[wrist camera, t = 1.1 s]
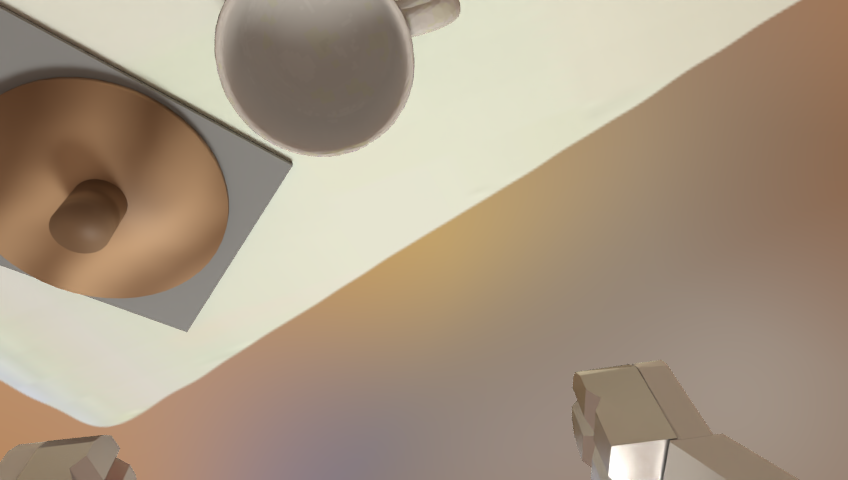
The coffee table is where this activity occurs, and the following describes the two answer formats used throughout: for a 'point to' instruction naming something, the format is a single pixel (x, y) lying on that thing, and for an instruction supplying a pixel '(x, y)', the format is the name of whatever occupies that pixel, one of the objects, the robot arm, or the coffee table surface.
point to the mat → (237, 156)
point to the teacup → (322, 67)
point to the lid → (105, 189)
